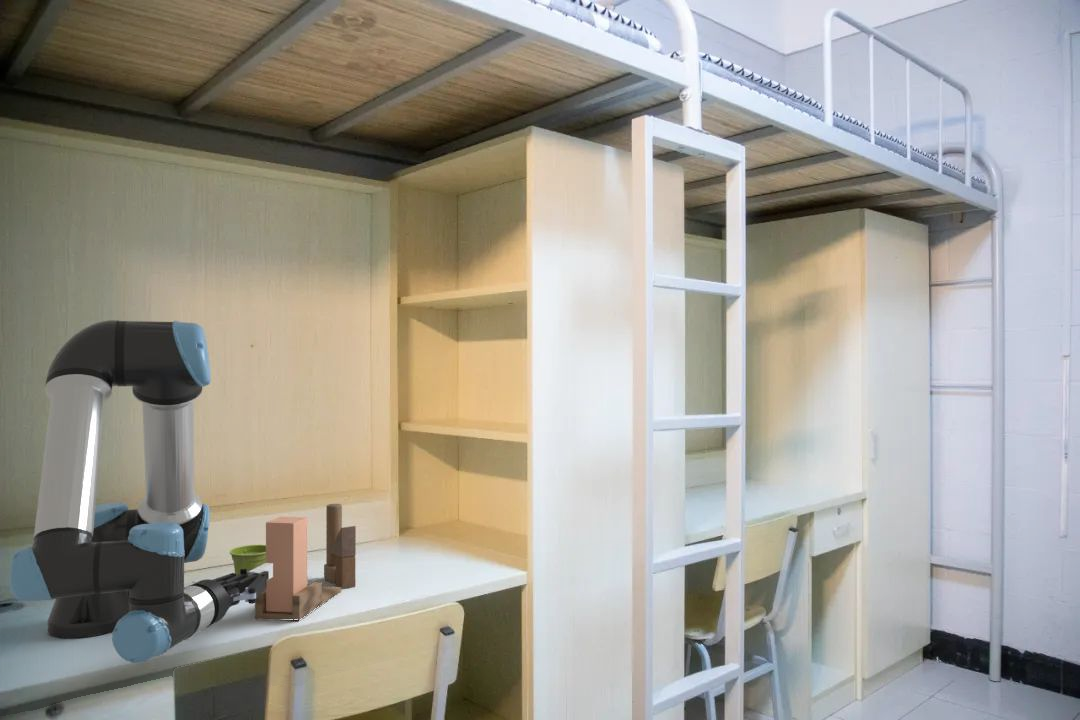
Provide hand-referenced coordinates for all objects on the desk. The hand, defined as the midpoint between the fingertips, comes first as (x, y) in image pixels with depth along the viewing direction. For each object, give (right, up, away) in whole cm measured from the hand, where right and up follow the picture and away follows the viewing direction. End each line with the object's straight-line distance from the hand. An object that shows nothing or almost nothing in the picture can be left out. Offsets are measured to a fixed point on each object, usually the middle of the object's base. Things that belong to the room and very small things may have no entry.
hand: (269, 570), depth 147 cm
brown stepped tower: (+6, -12, +29) cm, 32 cm away
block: (+1, -10, +7) cm, 12 cm away
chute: (+2, -11, +13) cm, 17 cm away
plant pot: (-14, -12, +27) cm, 32 cm away
